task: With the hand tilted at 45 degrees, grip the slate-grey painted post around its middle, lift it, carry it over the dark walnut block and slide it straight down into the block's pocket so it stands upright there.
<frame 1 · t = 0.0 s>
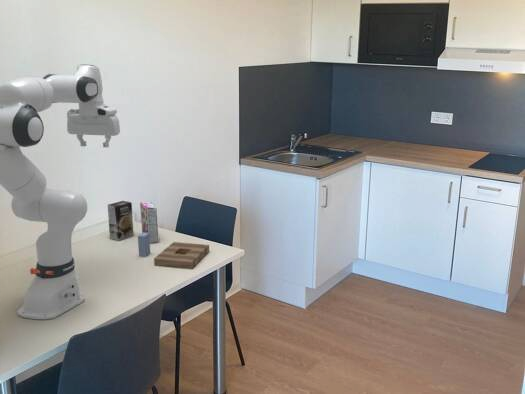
hand: (94, 146, 210), 48 cm above the table, tool pointing down, fingers open, 8 cm apart
candy bar box: (150, 240, 253), on the table
coffee box: (122, 237, 256), on the table
grey post: (144, 254, 235), on the table
walnut block: (182, 258, 231), on the table
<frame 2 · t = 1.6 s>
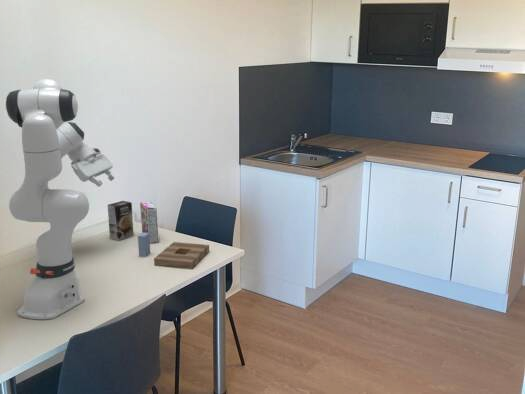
hand: (106, 182, 230), 30 cm above the table, tool tilted 45°, fingers open, 8 cm apart
nothing on the table moved.
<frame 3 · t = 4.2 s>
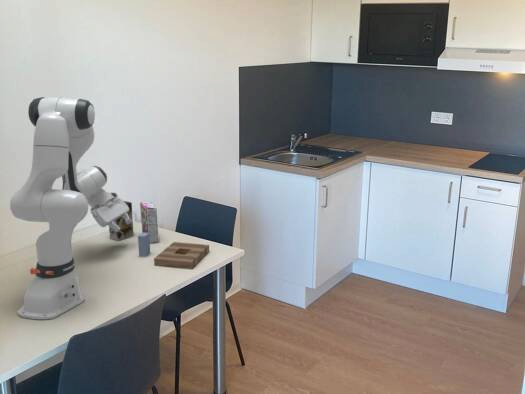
hand: (124, 226, 234), 12 cm above the table, tool tilted 45°, fingers open, 8 cm apart
nothing on the table moved.
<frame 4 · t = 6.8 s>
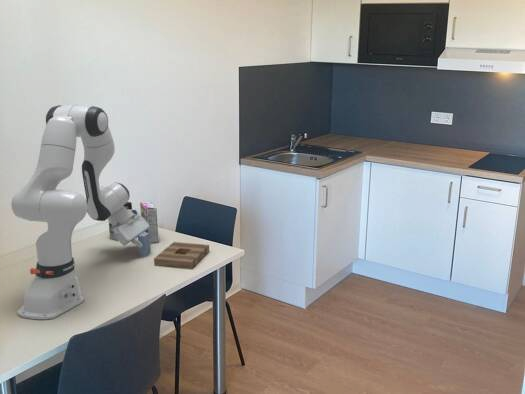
hand: (145, 244, 233), 5 cm above the table, tool tilted 45°, fingers closed on grey post, 4 cm apart
grey post: (144, 254, 235), on the table, touching gripper
everything else where it was.
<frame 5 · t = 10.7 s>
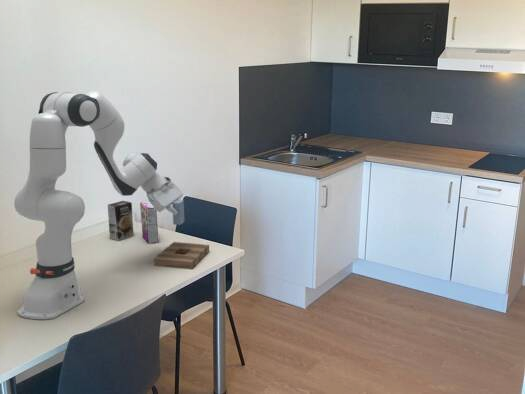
hand: (179, 211, 226), 20 cm above the table, tool tilted 45°, fingers closed on grey post, 4 cm apart
grey post: (178, 223, 227), point 15 cm above the table, touching gripper
everything else where it was.
when the fingers open (6 cm above the table, at t = 14.6 s): grey post drops 1 cm, resting in walnut block.
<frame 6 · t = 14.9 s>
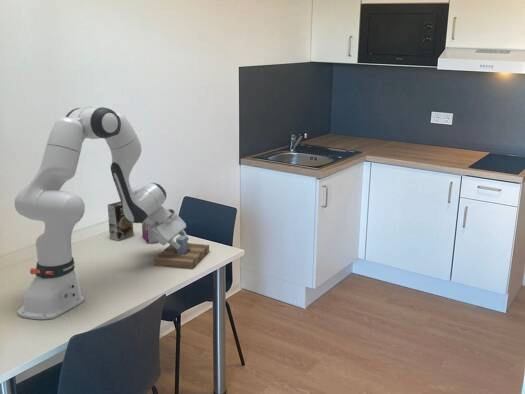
hand: (183, 244, 229), 6 cm above the table, tool tilted 45°, fingers open, 8 cm apart
grey post: (182, 258, 230), resting in walnut block
everything else where it was.
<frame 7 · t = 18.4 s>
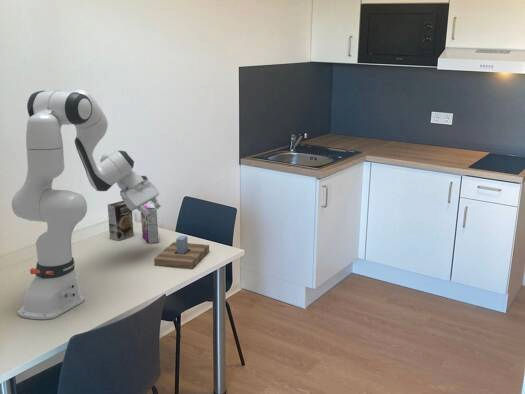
hand: (153, 211, 228), 19 cm above the table, tool tilted 40°, fingers open, 8 cm apart
nothing on the table moved.
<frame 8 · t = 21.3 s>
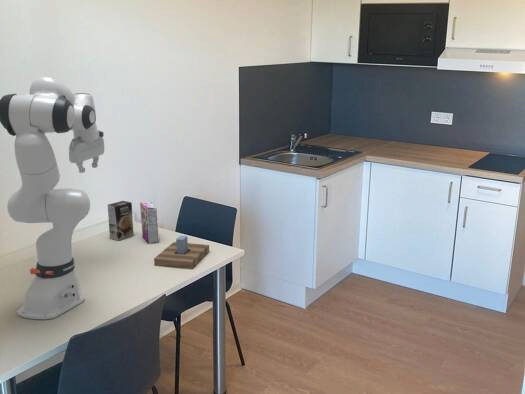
hand: (88, 169, 222), 37 cm above the table, tool pointing down, fingers open, 8 cm apart
nothing on the table moved.
at the end: grey post 0.1 cm off-centre on the walnut block, point 0.0 cm above the walnut block's base; grey post tilted 0°; the gripper is holding nothing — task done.
